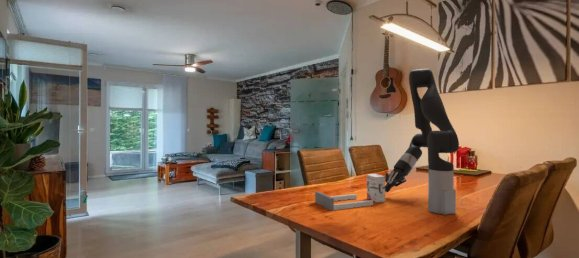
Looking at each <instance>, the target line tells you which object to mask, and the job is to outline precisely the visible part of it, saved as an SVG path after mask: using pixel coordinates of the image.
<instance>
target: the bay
mask: <svg viewBox="0 0 579 258" xmlns="http://www.w3.org/2000/svg"><path fill="white" fill-rule="evenodd" d="M314 194H315V195H314V196H315V197H314V203H315V204H318V205H319V206H322V208H325V209H326V210H329V211H338V210H344V209H345V210H346V209H354V207H355V208H362V206H363V207H370V206H371V205H372V206H373V205H374V201H372V200H370V199H368V200H359V201H351V202H343V203H334V202H339V201H338V200H341V201H349V200H348V199H350V200H357V199H356V198H357V196H358V195H357V194H356V193H353V194H351V193H350V194H344V195H343V194H342V195H341V194H340V195H331V196H329V195H327V194H325V193H323V192H320V191H318V190H317V191H315V192H314Z"/></svg>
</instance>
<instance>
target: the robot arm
mask: <svg viewBox="0 0 579 258" xmlns="http://www.w3.org/2000/svg"><path fill="white" fill-rule="evenodd" d="M408 73H409V74H408V84H409V90H410V95H411V101H412V106H413V107H412V108H413V112H414V125H415V128H416V129H417V130H420V132H421V133H420V132H419V133H416V134H414V135H413V136H412V139H411V141H410V143H409V146H408V148H407V149H406V150H405V152H404V153H403V154H402V155H401V156H400V158H398V160H397V162H396V163H395V164H394V165H393V170H391V171H390V173H388V172H386V173H385V176H384V177H385V193H389V191H391V189H392V188H393V187H399V186H400V185H402V184H404V183H405V182H407V179H406V177H407V176H408V175H409V174H410V173H411V171H412V170H413V169H414V167H416V164H417V162H418V161H419V159H420V158H421V157H422V155H423V151H422V149H421V148H426V149H427V163H428V165H427V166H428V170H427V172H428V177H427V178H428V179H427V180H428V181H427V182H428V183H427V184H428V185H427V188H428V189H427V192H428V194H427V195H428V196H427V198H428V199H427V200H428V201H427V204H428V205H427V207H428V208H427V210H428V212H431V213H435V214H440V215H445V216H446V215H451V214H456V212H457V211H456V210H457V209H456V205H457V204H456V198H457V197H456V195H457V194H456V192H457V190H456V188H455V189H454V169H455V168H454V167H455V166H454V164H453V162H450V161H448V160H445V159H443V158H441V157H440V154H454V153H456V152H458V150H459V148H460V142H459V137H458V135H457V132H456V130H455V128H454V126H453V124H452V123H451V120H450V119H449V116H448V114H447V111H446V109H445V105H444V103H443V100H442V98H441V95H440V92H439V90H438V87H437V84H436V80H435V76H434V73H433V71H432V69H430V68H420V69H412V70H410V71H409V72H408ZM418 88H419V89H420V88H421V89H422V88H427V89H426V91H425V93H424V94H423V96H422V97H420V95H419V92H418ZM431 124H432V125H433V126H435V127H437V128H438V130H433V129H432V126H431Z"/></svg>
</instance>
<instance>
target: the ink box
mask: <svg viewBox="0 0 579 258" xmlns="http://www.w3.org/2000/svg"><path fill="white" fill-rule="evenodd" d="M385 185H386V181H385V176H384V175H381V174H377V173H368V174H366V196H367V197H366V199H368V200H372V201H373V202H374V201H375V203H385V202H386V192H385Z"/></svg>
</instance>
